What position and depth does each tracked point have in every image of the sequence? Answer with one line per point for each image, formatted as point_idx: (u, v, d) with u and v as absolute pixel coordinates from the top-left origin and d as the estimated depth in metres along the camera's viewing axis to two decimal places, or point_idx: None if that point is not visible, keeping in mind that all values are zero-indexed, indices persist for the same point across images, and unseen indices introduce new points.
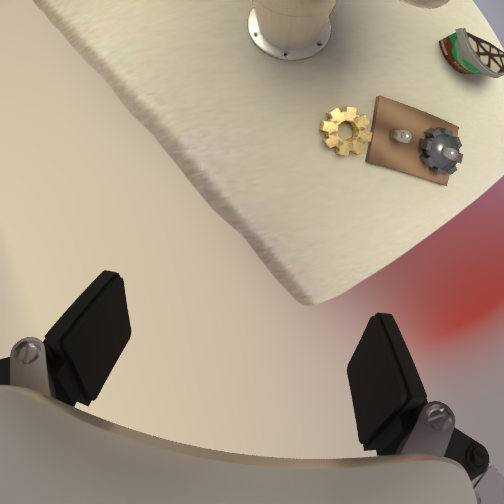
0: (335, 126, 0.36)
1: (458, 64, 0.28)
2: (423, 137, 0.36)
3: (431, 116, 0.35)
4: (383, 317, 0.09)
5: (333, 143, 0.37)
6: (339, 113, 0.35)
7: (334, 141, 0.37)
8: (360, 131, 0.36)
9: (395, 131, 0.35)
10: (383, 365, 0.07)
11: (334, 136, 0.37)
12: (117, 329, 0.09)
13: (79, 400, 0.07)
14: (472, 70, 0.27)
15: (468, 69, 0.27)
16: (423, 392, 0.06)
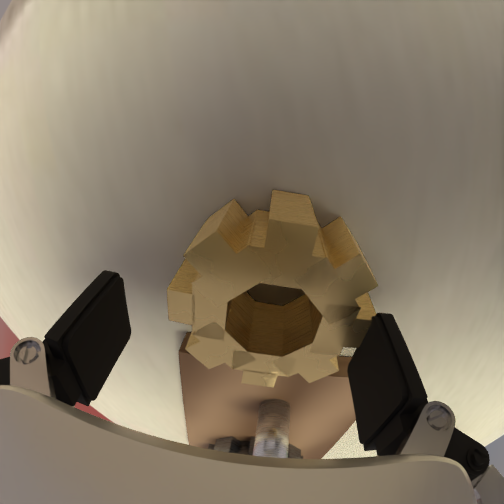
0: (292, 276, 0.09)
1: None
2: None
3: (325, 450, 0.17)
4: (383, 317, 0.09)
5: (207, 267, 0.09)
6: (352, 293, 0.09)
7: (217, 271, 0.09)
8: (276, 360, 0.10)
9: (284, 428, 0.13)
10: (383, 365, 0.07)
11: (242, 272, 0.09)
12: (117, 329, 0.09)
13: (78, 400, 0.07)
14: None
15: None
16: (423, 393, 0.06)
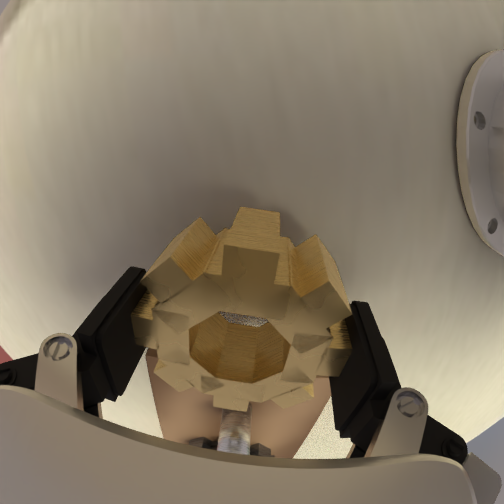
0: (253, 305, 0.08)
1: None
2: None
3: (294, 449, 0.19)
4: (358, 305, 0.09)
5: (165, 294, 0.08)
6: (323, 322, 0.08)
7: (174, 298, 0.08)
8: (245, 387, 0.10)
9: (245, 425, 0.14)
10: (356, 351, 0.08)
11: (200, 299, 0.08)
12: None
13: None
14: None
15: None
16: (393, 378, 0.06)
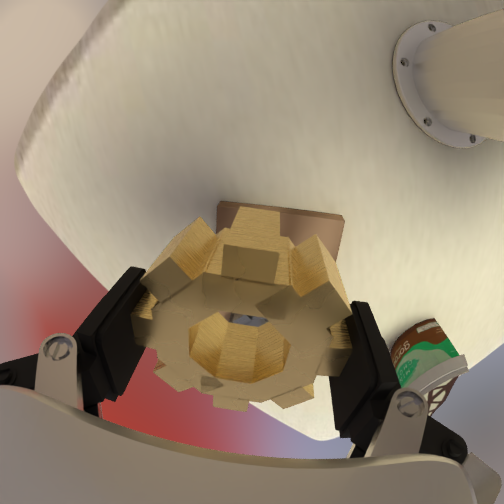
0: (253, 305, 0.08)
1: (406, 350, 0.28)
2: None
3: None
4: (358, 305, 0.09)
5: (164, 293, 0.08)
6: (323, 322, 0.08)
7: (174, 297, 0.08)
8: (245, 387, 0.10)
9: None
10: (356, 351, 0.08)
11: (200, 299, 0.08)
12: None
13: (105, 395, 0.08)
14: (400, 372, 0.27)
15: (400, 365, 0.28)
16: (393, 378, 0.06)
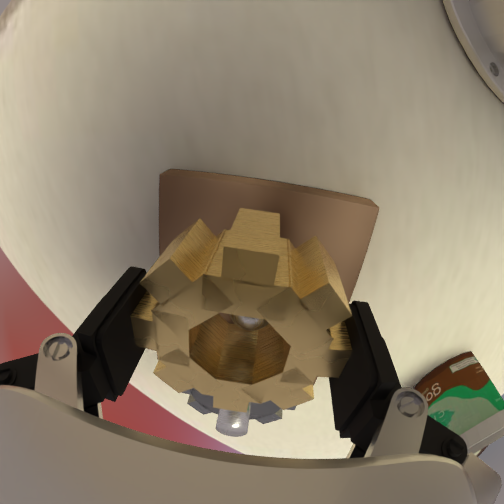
0: (253, 307, 0.08)
1: (436, 396, 0.18)
2: None
3: None
4: (358, 305, 0.09)
5: (165, 295, 0.08)
6: (323, 323, 0.08)
7: (174, 299, 0.08)
8: (245, 388, 0.10)
9: None
10: (356, 351, 0.08)
11: (200, 301, 0.08)
12: None
13: None
14: None
15: None
16: (393, 378, 0.06)
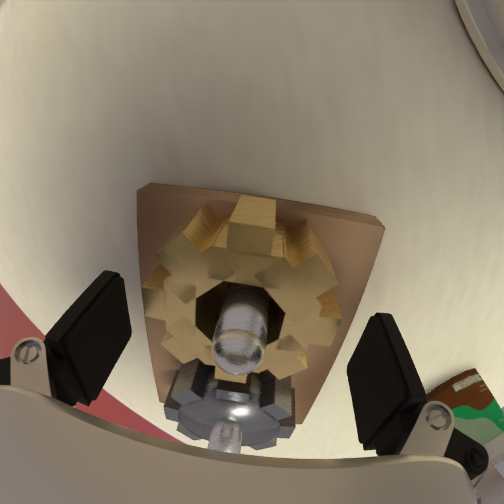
0: (253, 275, 0.09)
1: None
2: None
3: (322, 377, 0.16)
4: (383, 317, 0.09)
5: (176, 266, 0.09)
6: (313, 291, 0.09)
7: (184, 269, 0.09)
8: None
9: (260, 289, 0.11)
10: (383, 365, 0.07)
11: (207, 270, 0.09)
12: (117, 329, 0.09)
13: (79, 400, 0.07)
14: None
15: None
16: (422, 392, 0.06)
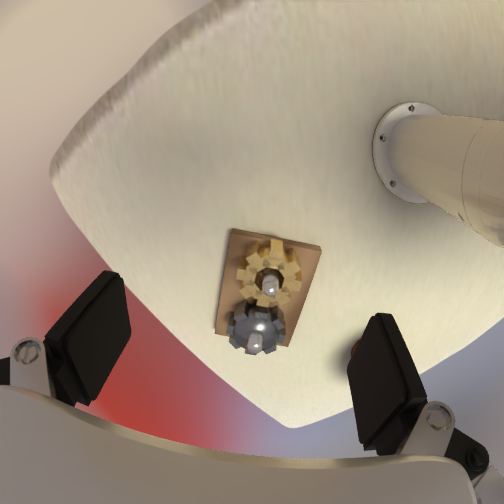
0: (275, 265, 0.31)
1: None
2: (270, 304, 0.37)
3: (297, 315, 0.38)
4: (383, 317, 0.09)
5: (252, 262, 0.31)
6: (293, 271, 0.31)
7: (254, 263, 0.31)
8: None
9: (276, 271, 0.33)
10: (383, 365, 0.07)
11: (262, 263, 0.31)
12: (117, 329, 0.09)
13: (79, 400, 0.07)
14: None
15: None
16: (422, 393, 0.06)
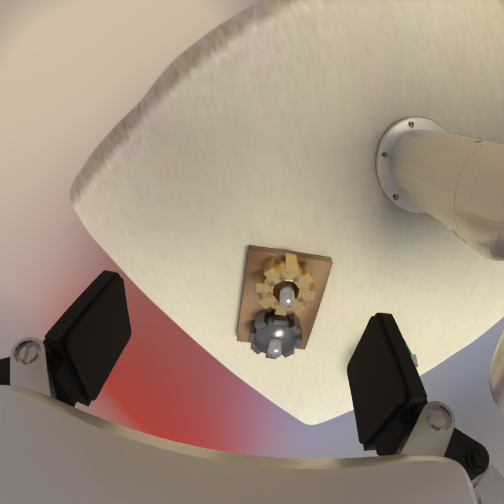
0: (291, 278, 0.34)
1: None
2: (287, 312, 0.40)
3: (312, 320, 0.40)
4: (383, 317, 0.09)
5: (269, 276, 0.34)
6: (307, 283, 0.34)
7: (272, 277, 0.34)
8: None
9: (291, 282, 0.36)
10: (383, 365, 0.07)
11: (278, 277, 0.34)
12: (117, 329, 0.09)
13: (79, 400, 0.07)
14: None
15: None
16: (423, 393, 0.06)
